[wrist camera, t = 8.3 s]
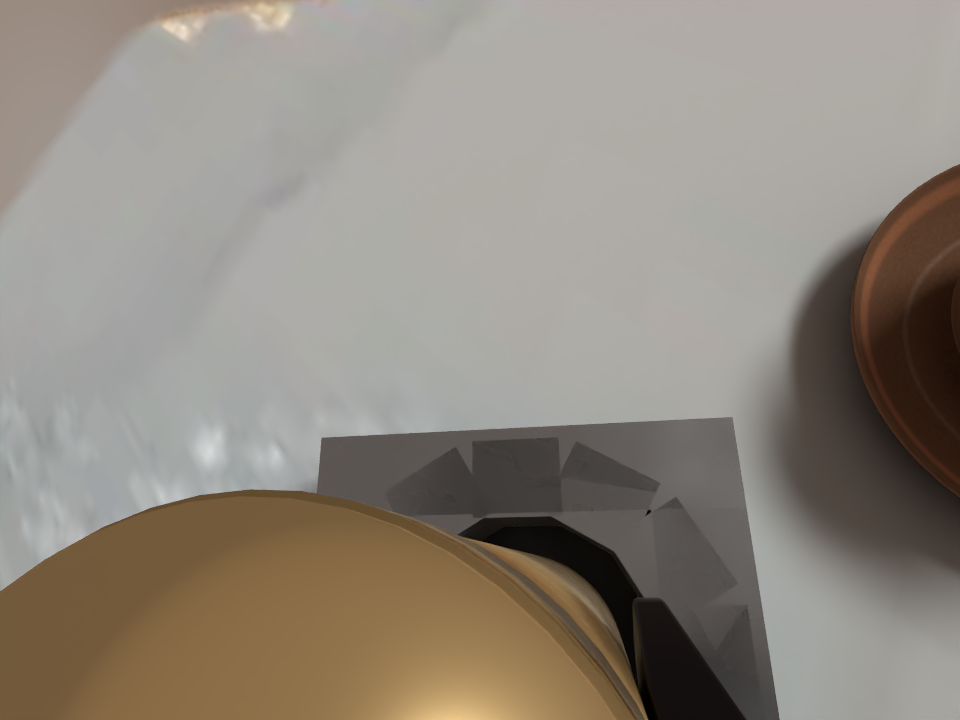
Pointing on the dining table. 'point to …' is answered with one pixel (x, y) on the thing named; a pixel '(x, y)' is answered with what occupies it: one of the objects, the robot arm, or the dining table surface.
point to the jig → (595, 514)
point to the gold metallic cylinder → (304, 622)
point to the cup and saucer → (915, 324)
